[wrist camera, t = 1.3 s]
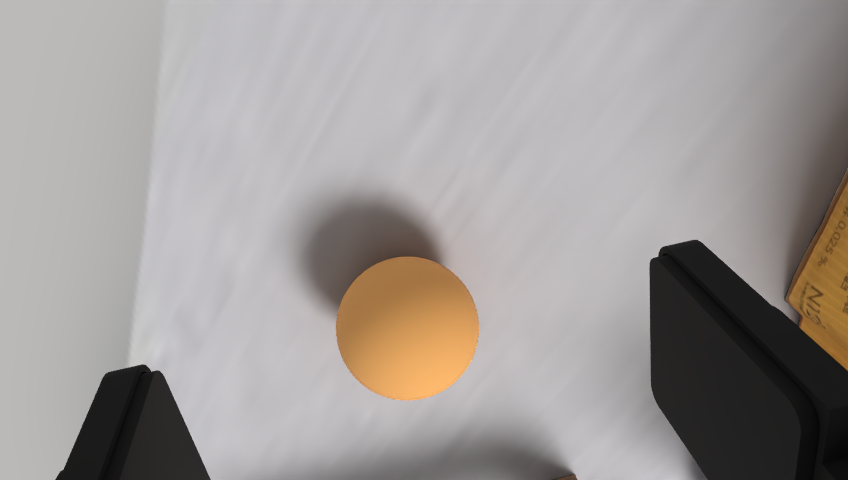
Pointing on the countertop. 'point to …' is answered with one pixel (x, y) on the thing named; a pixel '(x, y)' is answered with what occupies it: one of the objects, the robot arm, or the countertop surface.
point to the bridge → (568, 478)
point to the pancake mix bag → (826, 281)
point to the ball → (407, 328)
